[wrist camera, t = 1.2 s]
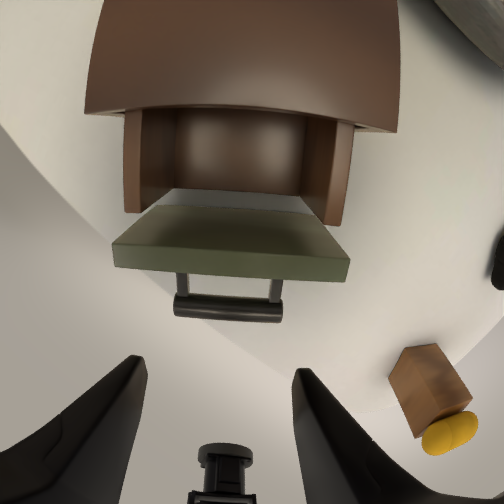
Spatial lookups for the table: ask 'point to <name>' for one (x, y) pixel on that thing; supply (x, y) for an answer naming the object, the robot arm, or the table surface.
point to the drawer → (230, 219)
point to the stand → (427, 387)
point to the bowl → (479, 24)
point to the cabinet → (250, 58)
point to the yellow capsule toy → (449, 433)
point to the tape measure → (498, 267)
